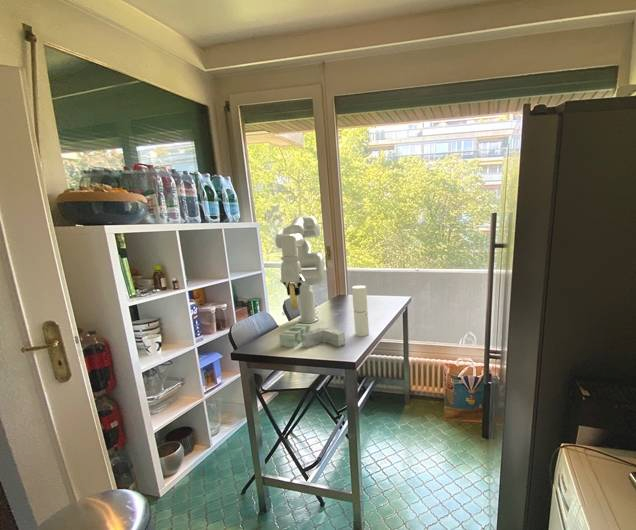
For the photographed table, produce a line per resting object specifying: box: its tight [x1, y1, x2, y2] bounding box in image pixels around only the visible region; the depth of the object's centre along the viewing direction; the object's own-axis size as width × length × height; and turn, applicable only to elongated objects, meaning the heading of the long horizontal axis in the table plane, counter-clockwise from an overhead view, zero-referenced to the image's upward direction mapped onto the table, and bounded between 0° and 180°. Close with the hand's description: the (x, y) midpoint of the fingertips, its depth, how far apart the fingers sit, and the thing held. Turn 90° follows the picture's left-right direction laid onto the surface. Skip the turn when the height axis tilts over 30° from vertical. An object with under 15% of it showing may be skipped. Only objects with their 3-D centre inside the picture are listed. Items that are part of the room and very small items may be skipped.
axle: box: [289, 282, 300, 311], centre depth 168 cm, size 4×4×13 cm
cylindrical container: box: [351, 285, 370, 337], centre depth 172 cm, size 7×7×25 cm
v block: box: [301, 327, 346, 349], centre depth 164 cm, size 11×21×6 cm, turn 84°
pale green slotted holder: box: [278, 323, 312, 348], centre depth 171 cm, size 18×8×6 cm, turn 154°
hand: (293, 294), depth 168 cm, fingers closed on axle, 4 cm apart
